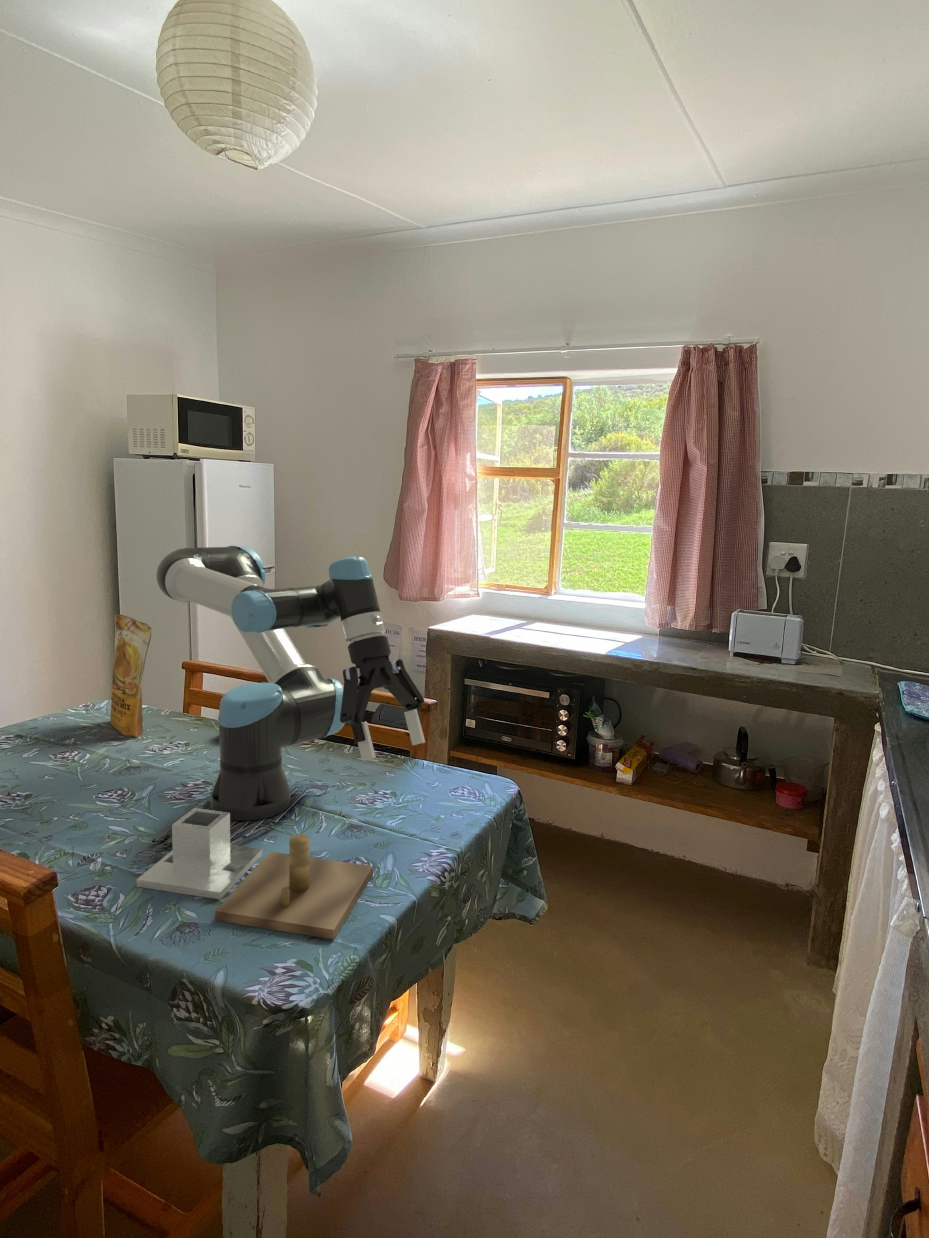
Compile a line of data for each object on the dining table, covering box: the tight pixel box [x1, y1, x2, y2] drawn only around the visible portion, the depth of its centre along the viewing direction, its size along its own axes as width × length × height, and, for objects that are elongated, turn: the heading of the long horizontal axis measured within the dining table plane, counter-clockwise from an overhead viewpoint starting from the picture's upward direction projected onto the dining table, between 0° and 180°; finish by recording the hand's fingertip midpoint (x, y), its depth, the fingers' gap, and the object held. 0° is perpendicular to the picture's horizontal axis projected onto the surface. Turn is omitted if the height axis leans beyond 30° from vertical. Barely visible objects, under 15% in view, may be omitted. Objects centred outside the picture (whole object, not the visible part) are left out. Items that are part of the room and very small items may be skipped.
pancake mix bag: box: [109, 613, 153, 738], centre depth 180 cm, size 7×19×28 cm, turn 42°
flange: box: [136, 807, 263, 900], centre depth 117 cm, size 14×14×9 cm
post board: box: [214, 833, 374, 940], centre depth 111 cm, size 18×18×10 cm
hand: (395, 751), depth 132 cm, fingers open, 13 cm apart
